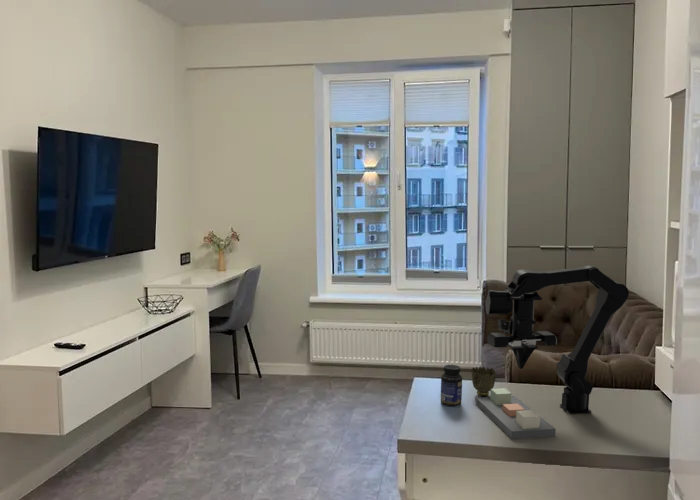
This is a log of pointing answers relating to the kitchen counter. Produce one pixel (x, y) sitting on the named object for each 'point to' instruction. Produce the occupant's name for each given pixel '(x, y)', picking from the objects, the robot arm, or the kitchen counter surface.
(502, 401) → the sage button
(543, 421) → the button board
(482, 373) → the cup
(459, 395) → the pill bottle
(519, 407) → the terracotta button
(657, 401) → the kitchen counter surface
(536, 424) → the cream button
